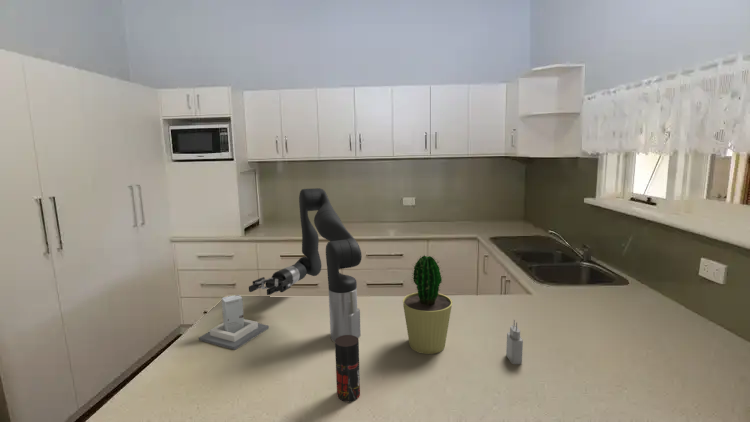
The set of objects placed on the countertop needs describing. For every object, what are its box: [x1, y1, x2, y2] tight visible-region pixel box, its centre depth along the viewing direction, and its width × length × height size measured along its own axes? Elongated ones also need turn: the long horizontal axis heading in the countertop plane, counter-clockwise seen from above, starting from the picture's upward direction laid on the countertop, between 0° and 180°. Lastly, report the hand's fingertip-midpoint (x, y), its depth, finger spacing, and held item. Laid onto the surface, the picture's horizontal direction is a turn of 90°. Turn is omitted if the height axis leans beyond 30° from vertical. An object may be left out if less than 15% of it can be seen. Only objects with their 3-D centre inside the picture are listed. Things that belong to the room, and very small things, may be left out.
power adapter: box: [505, 319, 524, 365], centre depth 113 cm, size 3×5×12 cm, turn 1°
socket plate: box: [198, 318, 270, 351], centre depth 132 cm, size 16×16×3 cm
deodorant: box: [334, 335, 361, 403], centre depth 98 cm, size 6×6×15 cm
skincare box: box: [221, 294, 245, 333], centre depth 132 cm, size 6×4×12 cm
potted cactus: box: [402, 254, 453, 355], centre depth 121 cm, size 15×15×30 cm
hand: (258, 291), depth 141 cm, fingers open, 8 cm apart
